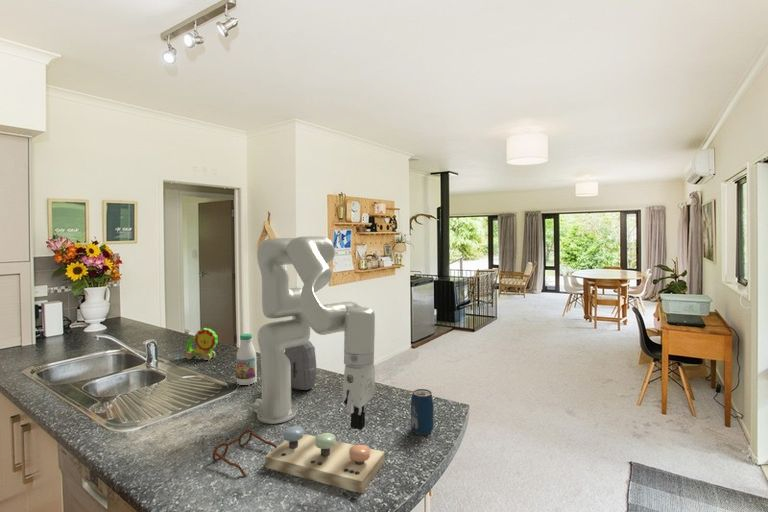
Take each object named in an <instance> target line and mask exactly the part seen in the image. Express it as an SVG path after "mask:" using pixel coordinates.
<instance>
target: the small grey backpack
mask: <svg viewBox="0 0 768 512" xmlns="http://www.w3.org/2000/svg"><path fill="white" fill-rule="evenodd" d="M315 349H316V348H315V346H314V344H313V343H312V342H311V341H310V340H309V341H308V342H307V343H306V344H305V345H302V346H299V347H294V348H289V349H286V350H284V354H285V355H286V356H287V357H288V358H289V360H290V363H291V389H294V390H300V391H308V390H311V389H312V388H314V386H315V381H316V379H317V377H316V376H317V356H316V350H315Z"/></svg>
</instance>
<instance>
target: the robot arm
mask: <svg viewBox="0 0 768 512" xmlns="http://www.w3.org/2000/svg"><path fill="white" fill-rule="evenodd" d="M256 254H257V255H256V257H257V263H258V264H257V265H258V267H259V270H260V275H261V309H262V313H263V315H264V316H265V318H267V319H282V318H290V317H291V319H287V320H286V319H285V320H278V321H272V322H269V323H265V324H263V325H261V327H260V328H259V329H258V330H257V331H258V332H257V343H258V347H259V353H260V367H261V369H260V370H261V371H260V373H261V374H260V375H261V398H256V399H255V401H254V403H253V407H254V408H258V409H259V410H258V412H257V414H256V418H257V420H258V421H259V422H261V423H262V424H270V425H275V424H282V423H285V422H288V421H290V420H292V419H294V417H295V416H296V415H297V410H296V408H295V407H294V406H292V388H291V363H290V360H289V358H288V357H287V356H286V355H285V354H284V353H285V350H286V349H289V348H294V347H299V346H302V345H305V344H306V343H307V342H308V341H310V337H311V329H312V331H313V332H315V333H316V334H318V335H320V336H321V335H330V334H331V335H332V334H335V333H340V332H344V335H343V336H344V337H343V338H344V341H343V342H344V344H343V346H344V347H343V348H344V349H343V356H344V357H343V364H344V365H345V366H344V370H343V371H344V372H343V382H342V403H343V405H344V406H346V409H345V410H346V411H345V412H346V413H349V414H350V428H352V429H355V430H360V431H362V430H363V429H364V428H365V426H366V410H367V403H368V402H369V401H370V400H371V399H372V398H373V397H374V396H375V394H376V375H375V373H376V370H375V336H376V335H375V332H376V331H375V329H376V325H375V324H376V314H375V311H374V310H373V309H372V308H370V307H366V306H361V305H359V304H358V303H357V302H354V301H343V302H342V301H341V302H336V303H335V302H333V303H326V304H321V302H320V301H319V299H318V297H317V296H316V292H318V291H320V290H322V289H323V288H324V287H325V286H326V285H328V284H329V282H330V281H331V280H332V276H333V271H332V269H331V268H330V266H329V265H328V264H329V263H330V262H332V261H333V260H334V257H335V254H336V250H335V247H334V243H332V241H331V240H330V239H329V238H327V237H326V236H297V237H277V238H269V239H266V240H263V241H262V242H261V243H260V244H259V245H258V248H257V253H256ZM283 265H293V267H294V269H295V271H296V273H297V274H298V276H299V278H300V280H301V282H302V283H303V286H302V287H290V286H289V279H290V278H289V275H288V272H287V270H286V269H285V267H284V266H283Z"/></svg>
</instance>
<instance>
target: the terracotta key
mask: <svg viewBox="0 0 768 512" xmlns="http://www.w3.org/2000/svg"><path fill="white" fill-rule="evenodd" d="M354 445H355V446H352V447H351V448H350V450H349V457H350V459H351V460H353V461H356V462H363V461H366V460H368V459H369V457H370V449H371V448H370V447H369V446H368V445H364V444H354Z"/></svg>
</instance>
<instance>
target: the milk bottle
mask: <svg viewBox="0 0 768 512" xmlns="http://www.w3.org/2000/svg"><path fill="white" fill-rule="evenodd" d="M239 341H240V345H239V348H238V350H237V352H236V383H237V385H238V384H239V385H238V386H240V385H248V386H251V385H250V384H252V385H254V384H253V383H255V382H256V383H257V380H258V375H257V374H258V373H257V372H258V371H257V365H258V364H257V352H256V350H255V347H254V345H253V342H252V341H253V335H252V333H241V334H240V335H239ZM256 383H255V384H256Z"/></svg>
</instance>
